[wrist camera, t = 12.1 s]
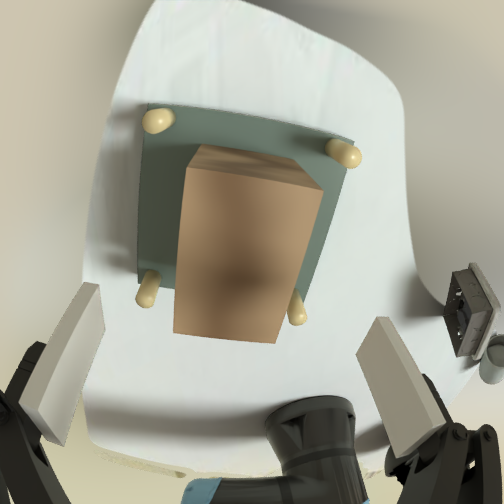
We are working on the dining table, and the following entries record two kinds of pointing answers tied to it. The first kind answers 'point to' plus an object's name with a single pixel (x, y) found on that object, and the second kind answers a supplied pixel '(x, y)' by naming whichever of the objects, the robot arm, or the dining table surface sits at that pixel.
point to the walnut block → (241, 243)
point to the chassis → (233, 136)
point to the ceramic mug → (493, 361)
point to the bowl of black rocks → (398, 465)
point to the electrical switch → (470, 312)
